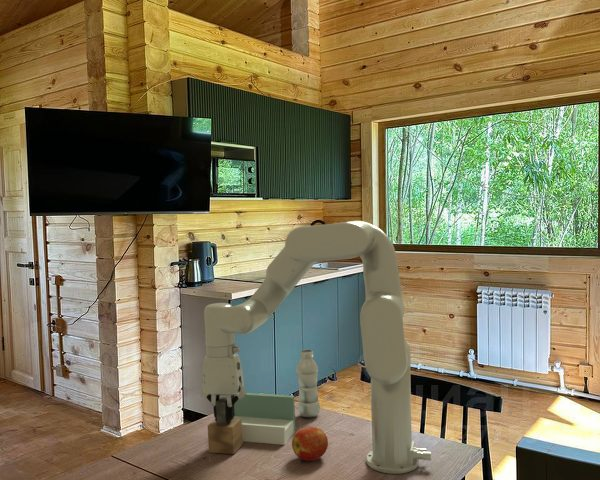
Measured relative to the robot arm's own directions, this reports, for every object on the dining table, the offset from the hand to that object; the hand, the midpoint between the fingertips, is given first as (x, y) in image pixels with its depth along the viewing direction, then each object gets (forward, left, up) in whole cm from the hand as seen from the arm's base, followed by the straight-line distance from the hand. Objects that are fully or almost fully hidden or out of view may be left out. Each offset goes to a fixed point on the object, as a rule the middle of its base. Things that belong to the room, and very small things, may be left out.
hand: (224, 419), depth 143 cm
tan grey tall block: (0, 0, -8) cm, 8 cm away
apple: (-24, +1, -8) cm, 25 cm away
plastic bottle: (-16, -27, -8) cm, 32 cm away
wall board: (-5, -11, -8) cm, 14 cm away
